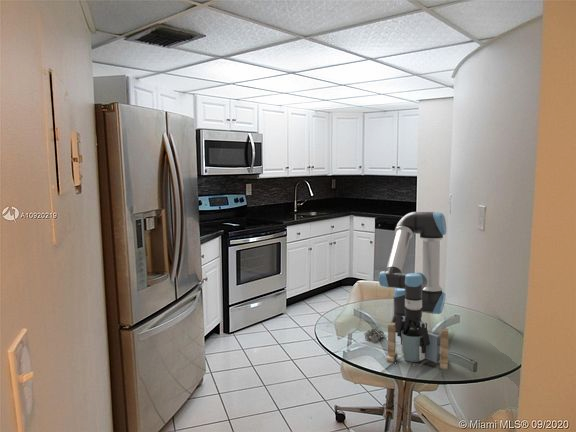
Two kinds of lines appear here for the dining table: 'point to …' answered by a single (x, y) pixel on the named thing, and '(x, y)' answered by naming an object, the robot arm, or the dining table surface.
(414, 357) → the grey blue cup
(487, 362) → the dining table surface
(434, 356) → the door
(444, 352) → the door frame
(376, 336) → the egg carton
